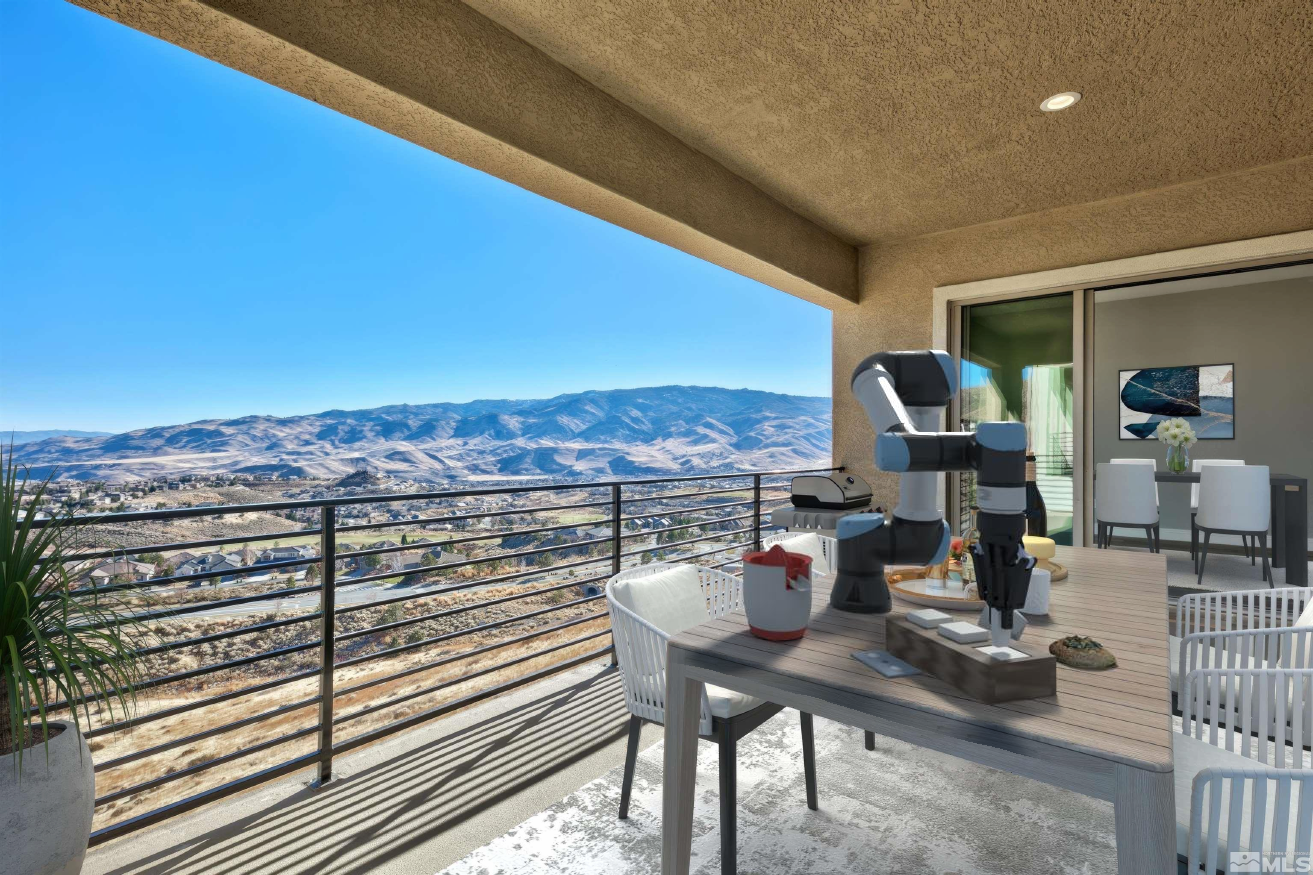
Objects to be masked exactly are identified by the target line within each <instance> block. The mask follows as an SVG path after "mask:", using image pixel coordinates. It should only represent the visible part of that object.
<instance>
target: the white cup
mask: <svg viewBox="0 0 1313 875" xmlns="http://www.w3.org/2000/svg"><path fill="white" fill-rule="evenodd" d="M1051 575H1052V574H1051V571H1050V570H1046V569H1042V568H1036V567H1034V568H1033V570H1032V574H1031V579H1030V583H1029V588H1028V592H1027V597H1026V601H1025V606H1024V608H1023V609H1016V610H1017V611H1018V612H1019V613H1020V612H1021V613H1024V614H1028V615H1037V616H1044V615H1047V614H1049V602H1050V594H1051Z"/></svg>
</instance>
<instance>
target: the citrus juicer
mask: <svg viewBox="0 0 1313 875" xmlns="http://www.w3.org/2000/svg"><path fill="white" fill-rule="evenodd" d="M741 560H742V581H743V582H742V586H743V587H742V595H743V606H744V612H745V615H746V619H747V624H748V627H749V629H750V631H751V634H753V635H755V636H756V637H759V638H762V639H767V640H770V641H772V642H779V641H791V640H796V639H799V638H801V637H803V636H804V635H805V633H806V631H807V629H808V625H809V620H810V617H811V611H812V602H813V581H812V580H813V578H812V577H813V576H812V575H813V572H812V569H813V566H812V565H813V564H812V562H814V559H813V557H811V556H810V555H807V554H803V553H798V552H792V551H786V550H785V549H784V548H783V546H781V545H780V544H778V543H775V544H774V545H773V546H771V547H770V548H769V549H768V551H767V550H766V551H755V552H754V551H753V552H749V553H746V554H745V553H744V554H743V555H742V556H741Z"/></svg>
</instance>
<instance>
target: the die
mask: <svg viewBox="0 0 1313 875" xmlns="http://www.w3.org/2000/svg"><path fill="white" fill-rule="evenodd" d="M1028 621H1029V620H1027V619H1026V618H1025V617H1024V616H1023V615H1022V614H1021V613H1020V611H1018V610H1017V609H1016V610H1014V611H1013V628H1012V629H1011V639H1013V640H1016V641H1018V642H1020V640H1021V637H1022V636H1023V633H1024V630H1025V629H1026V626H1027V625H1028ZM976 625H977V626H980V627H982V628H985V629H987V630H990V631H991V624H990V623H989V606H988V605H987V602H985V606H984V608H983V610H982V611H981V615H980V617H979V619H978V622H977V623H976Z"/></svg>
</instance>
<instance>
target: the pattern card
mask: <svg viewBox="0 0 1313 875" xmlns="http://www.w3.org/2000/svg"><path fill="white" fill-rule="evenodd" d="M850 656H851V657H852V658H855V660H858V661H860V662H861V663H863V664H865V665H867V666H868V667H869V668H871V669H873V670H875V671H877V672H878V673H879V674H882V675H883V676H885V677H886V678H889V679H891V678H899V677H906V676H912V675H913V676H914V675H920V674H922V671H921V670H920V669H918V668H917V667H914V666H912V664H911V665H910V663H909V664H908V662H904V661H903V660H901V659H899V658H898V657H895V655H893V654H890V653H888V652H887V651H884V650H882V649H877V650H868V651H859V652H853V653H850Z"/></svg>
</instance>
